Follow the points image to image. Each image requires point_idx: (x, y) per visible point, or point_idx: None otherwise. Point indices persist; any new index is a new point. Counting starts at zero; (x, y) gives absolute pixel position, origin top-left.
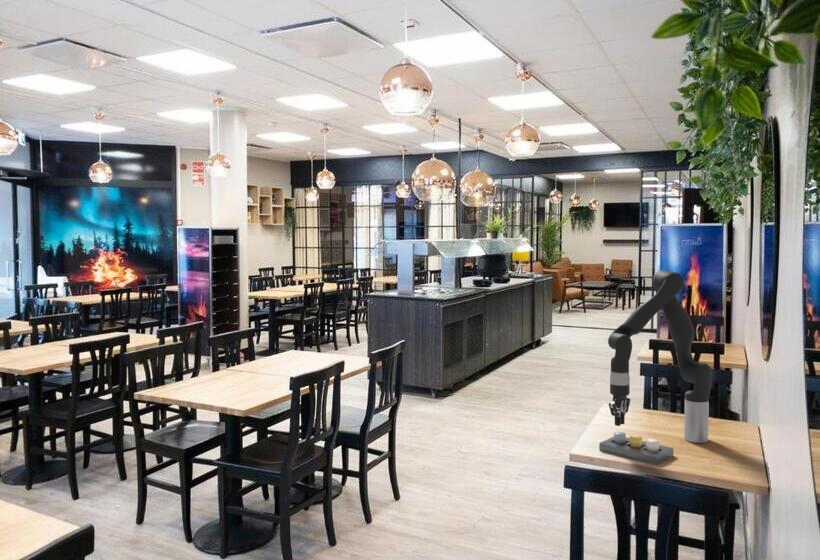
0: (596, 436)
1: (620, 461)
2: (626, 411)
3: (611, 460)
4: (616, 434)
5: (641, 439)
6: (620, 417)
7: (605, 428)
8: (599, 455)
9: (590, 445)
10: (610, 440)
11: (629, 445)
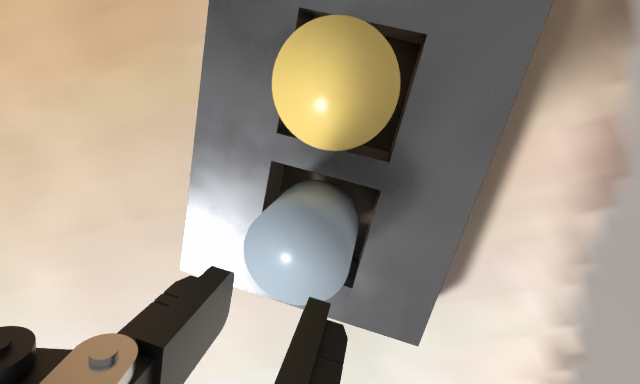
0: None
1: (596, 142)
2: (18, 357)
3: (597, 206)
4: (347, 275)
5: (348, 18)
6: (279, 379)
7: None
8: (512, 295)
9: None
10: None
11: None
